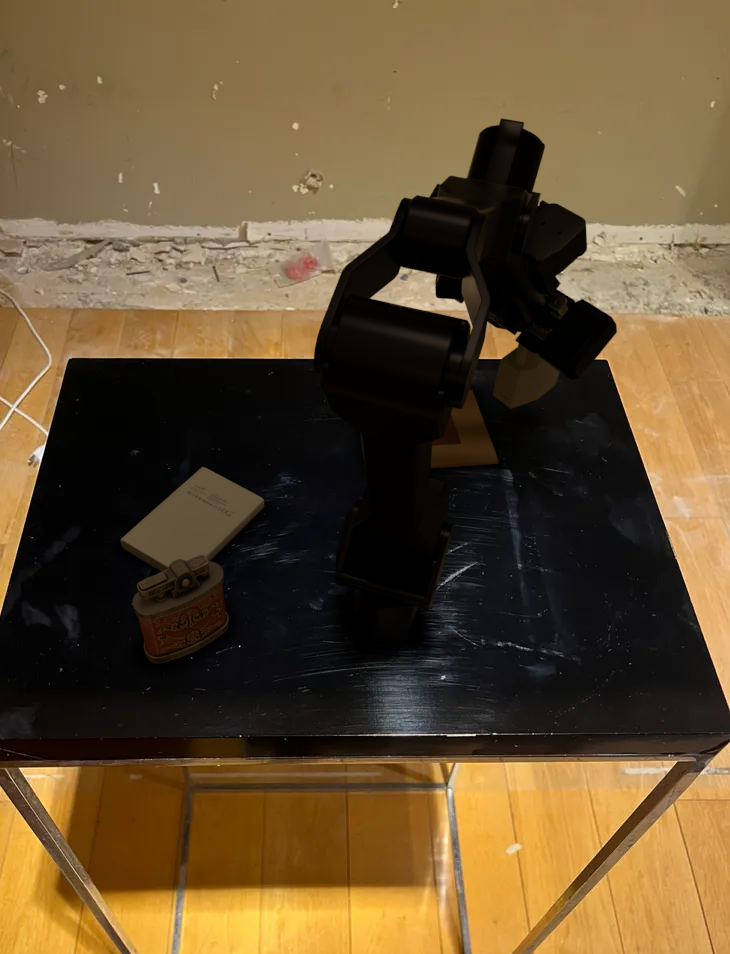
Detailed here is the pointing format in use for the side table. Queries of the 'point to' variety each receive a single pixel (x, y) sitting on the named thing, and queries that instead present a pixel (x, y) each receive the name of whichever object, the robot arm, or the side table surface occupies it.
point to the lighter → (181, 608)
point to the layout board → (464, 439)
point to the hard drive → (193, 521)
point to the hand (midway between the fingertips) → (548, 333)
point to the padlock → (523, 377)
